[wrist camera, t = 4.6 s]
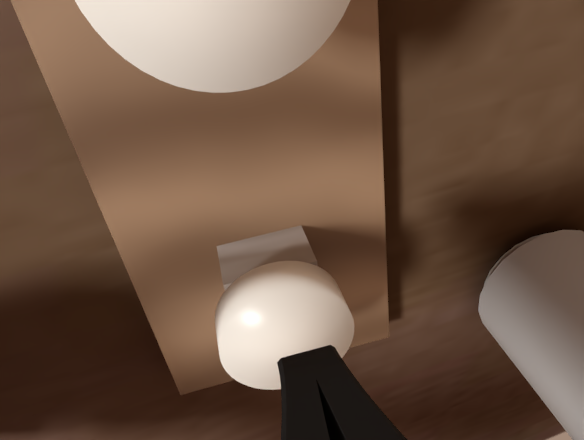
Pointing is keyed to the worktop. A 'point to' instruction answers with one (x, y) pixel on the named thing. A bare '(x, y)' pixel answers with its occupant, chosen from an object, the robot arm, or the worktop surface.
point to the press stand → (226, 175)
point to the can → (543, 319)
